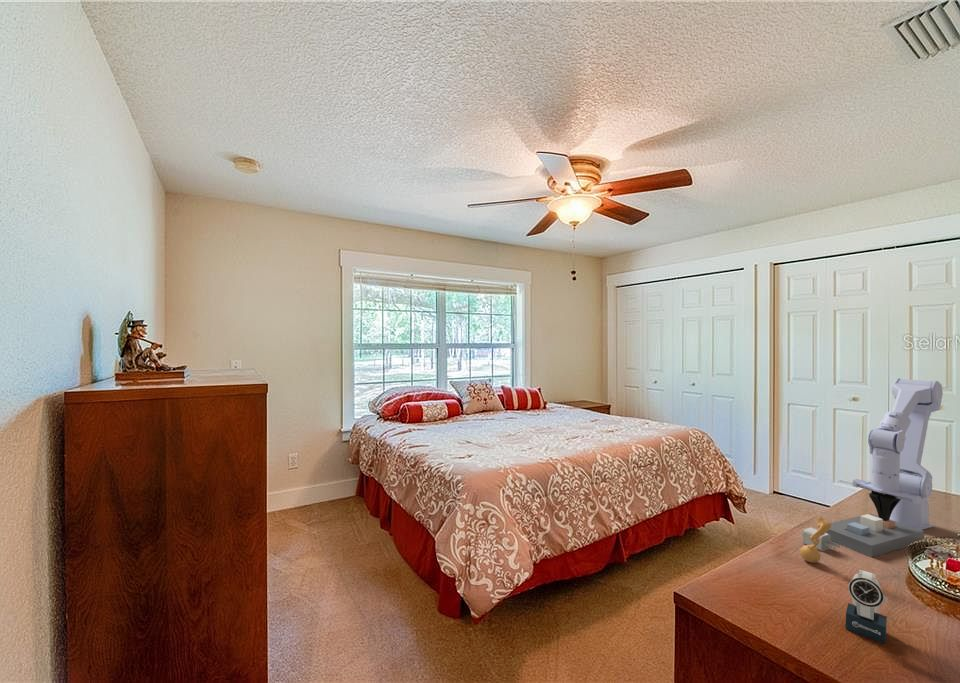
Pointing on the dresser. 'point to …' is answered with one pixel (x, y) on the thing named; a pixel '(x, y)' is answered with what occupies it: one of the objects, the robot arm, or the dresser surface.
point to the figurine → (815, 542)
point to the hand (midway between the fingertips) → (884, 519)
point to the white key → (872, 522)
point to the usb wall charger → (823, 540)
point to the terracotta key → (889, 524)
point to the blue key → (858, 529)
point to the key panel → (874, 537)
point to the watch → (866, 607)
